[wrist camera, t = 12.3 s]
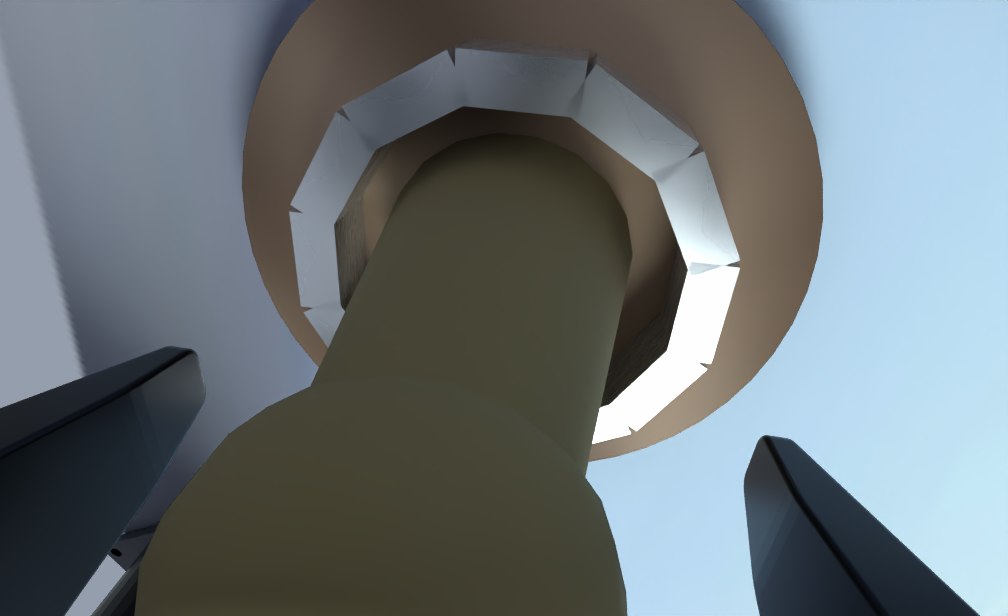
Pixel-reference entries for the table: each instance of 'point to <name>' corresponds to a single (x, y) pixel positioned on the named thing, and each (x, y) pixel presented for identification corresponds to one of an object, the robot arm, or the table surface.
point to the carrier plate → (643, 57)
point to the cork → (431, 419)
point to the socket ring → (551, 91)
